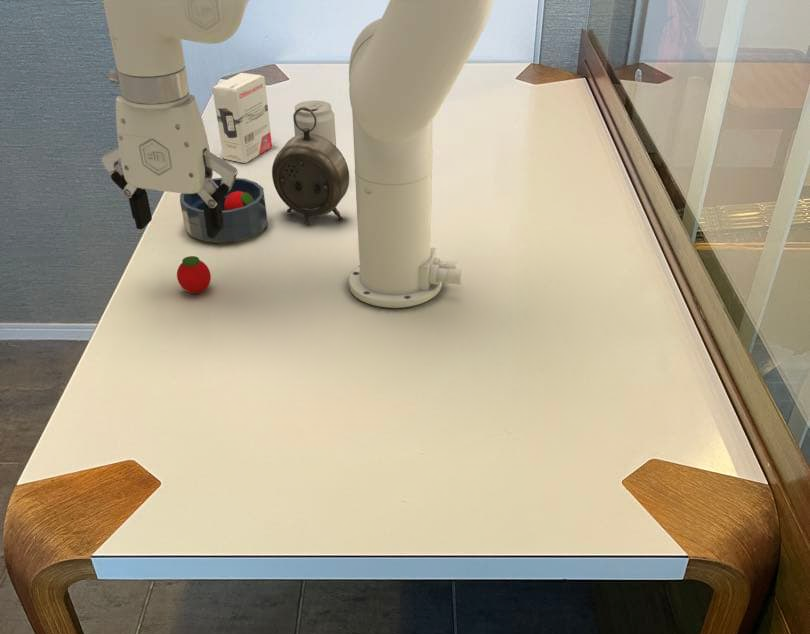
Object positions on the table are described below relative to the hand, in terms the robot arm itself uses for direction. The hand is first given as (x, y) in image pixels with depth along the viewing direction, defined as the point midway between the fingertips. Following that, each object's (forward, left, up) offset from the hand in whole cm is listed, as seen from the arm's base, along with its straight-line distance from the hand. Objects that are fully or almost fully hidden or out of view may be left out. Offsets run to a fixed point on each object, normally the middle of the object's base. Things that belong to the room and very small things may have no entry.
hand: (179, 229), depth 110 cm
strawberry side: (-1, 0, -9) cm, 9 cm away
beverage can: (-7, -37, -9) cm, 39 cm away
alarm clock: (-10, -24, -9) cm, 27 cm away
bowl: (+2, -19, -9) cm, 21 cm away
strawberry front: (+2, -21, -7) cm, 22 cm away
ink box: (+9, -47, -9) cm, 49 cm away
